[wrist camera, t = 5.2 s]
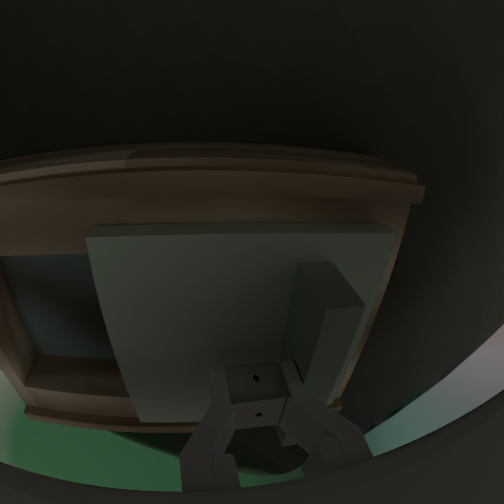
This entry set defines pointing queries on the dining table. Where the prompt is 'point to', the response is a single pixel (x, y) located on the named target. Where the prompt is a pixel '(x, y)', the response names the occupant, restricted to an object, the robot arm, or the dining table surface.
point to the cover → (233, 304)
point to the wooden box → (151, 212)
